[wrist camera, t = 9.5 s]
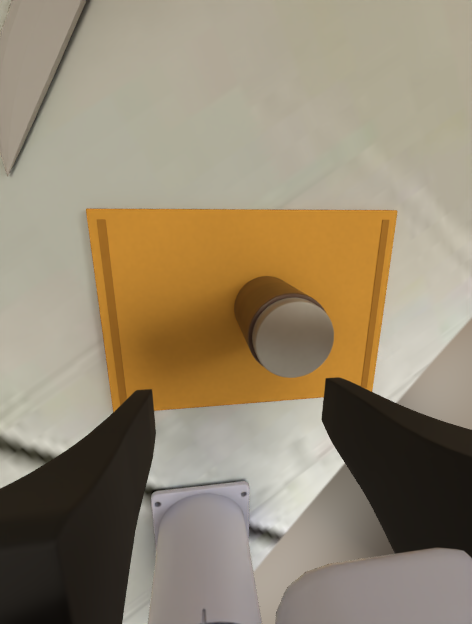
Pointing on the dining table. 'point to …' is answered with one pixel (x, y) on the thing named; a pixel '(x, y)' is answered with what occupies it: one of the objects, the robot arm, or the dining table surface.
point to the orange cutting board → (232, 297)
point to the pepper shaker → (283, 327)
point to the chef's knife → (30, 64)
